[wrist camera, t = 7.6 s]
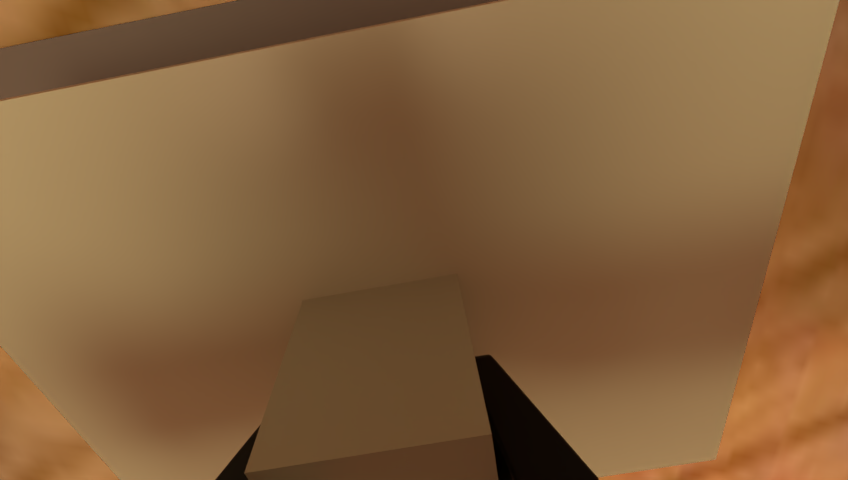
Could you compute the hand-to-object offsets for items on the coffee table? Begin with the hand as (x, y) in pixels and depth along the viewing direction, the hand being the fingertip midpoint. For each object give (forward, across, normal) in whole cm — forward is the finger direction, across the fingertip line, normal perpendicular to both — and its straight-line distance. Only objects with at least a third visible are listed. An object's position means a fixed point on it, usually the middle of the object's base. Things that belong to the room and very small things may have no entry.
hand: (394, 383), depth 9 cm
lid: (+3, 0, 0) cm, 3 cm away
